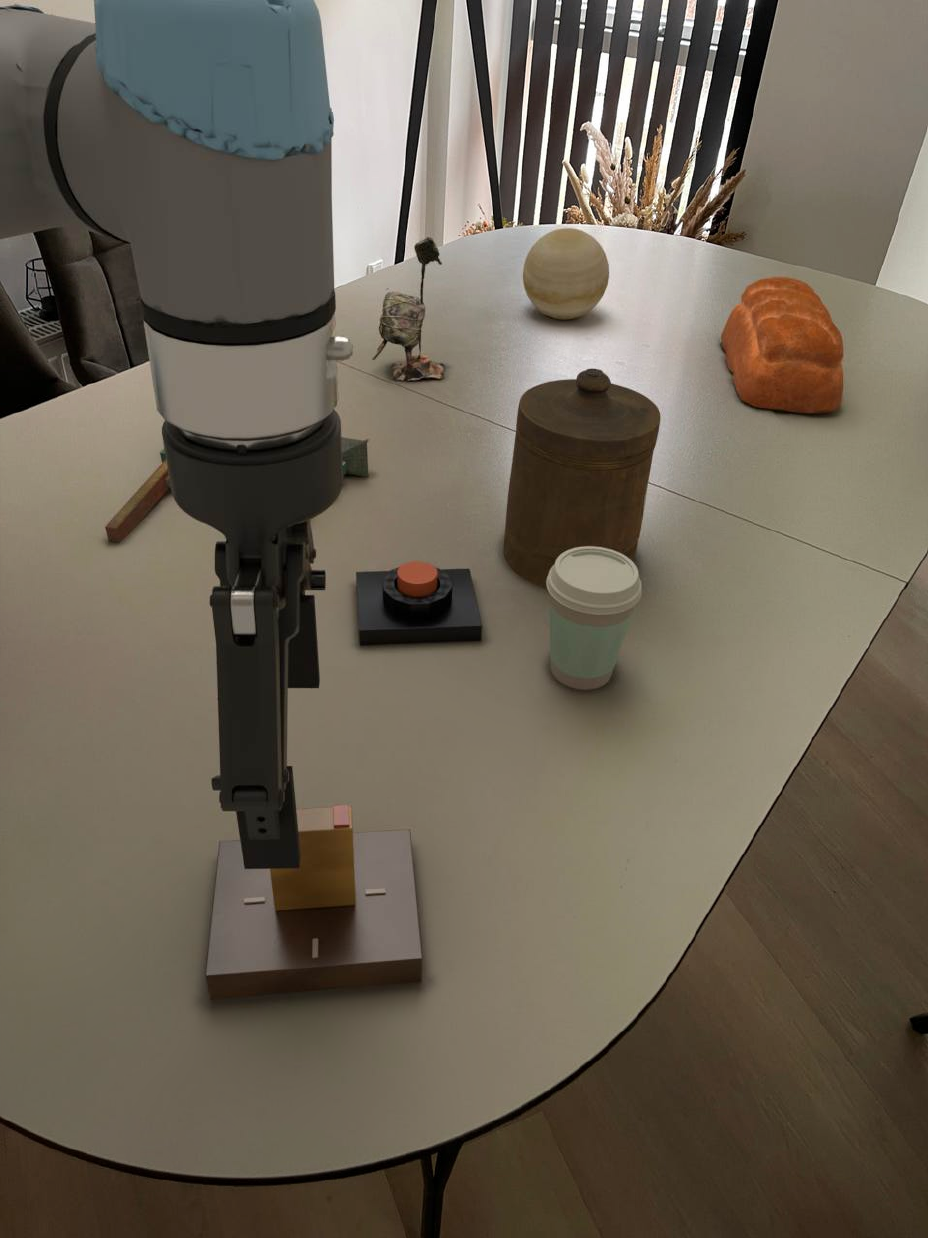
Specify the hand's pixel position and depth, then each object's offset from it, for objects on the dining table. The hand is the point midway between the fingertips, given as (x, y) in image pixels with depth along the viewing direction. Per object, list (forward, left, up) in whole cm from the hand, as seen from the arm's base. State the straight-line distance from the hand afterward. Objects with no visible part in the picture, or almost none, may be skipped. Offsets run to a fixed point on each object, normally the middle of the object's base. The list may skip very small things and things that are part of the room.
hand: (286, 765), depth 53 cm
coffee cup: (+26, +30, -20) cm, 44 cm away
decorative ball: (+44, +127, -20) cm, 135 cm away
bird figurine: (+15, +102, -20) cm, 104 cm away
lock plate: (+1, +4, -20) cm, 20 cm away
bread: (+74, +101, -20) cm, 126 cm away
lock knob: (+1, +4, -17) cm, 17 cm away
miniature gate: (-8, +66, -20) cm, 69 cm away
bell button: (+11, +40, -16) cm, 44 cm away
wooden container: (+29, +50, -20) cm, 61 cm away
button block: (+11, +40, -20) cm, 45 cm away
